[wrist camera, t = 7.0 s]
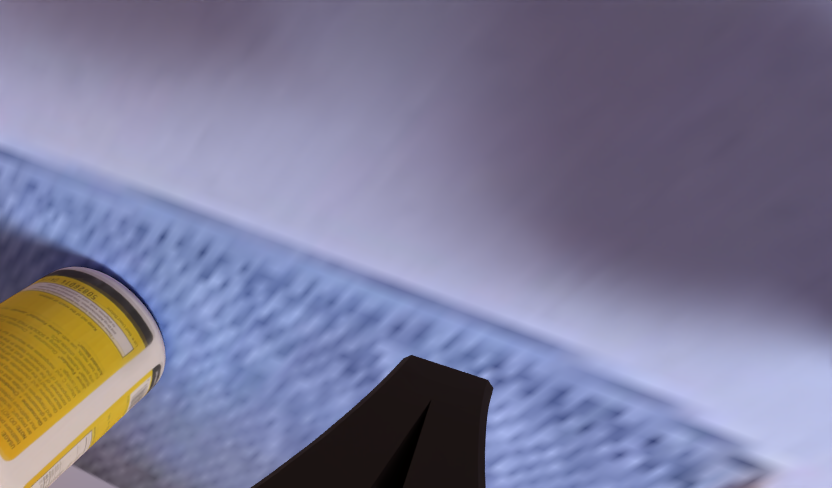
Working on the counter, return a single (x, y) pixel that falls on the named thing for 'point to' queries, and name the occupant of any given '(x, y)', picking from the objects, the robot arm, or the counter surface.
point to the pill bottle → (69, 370)
